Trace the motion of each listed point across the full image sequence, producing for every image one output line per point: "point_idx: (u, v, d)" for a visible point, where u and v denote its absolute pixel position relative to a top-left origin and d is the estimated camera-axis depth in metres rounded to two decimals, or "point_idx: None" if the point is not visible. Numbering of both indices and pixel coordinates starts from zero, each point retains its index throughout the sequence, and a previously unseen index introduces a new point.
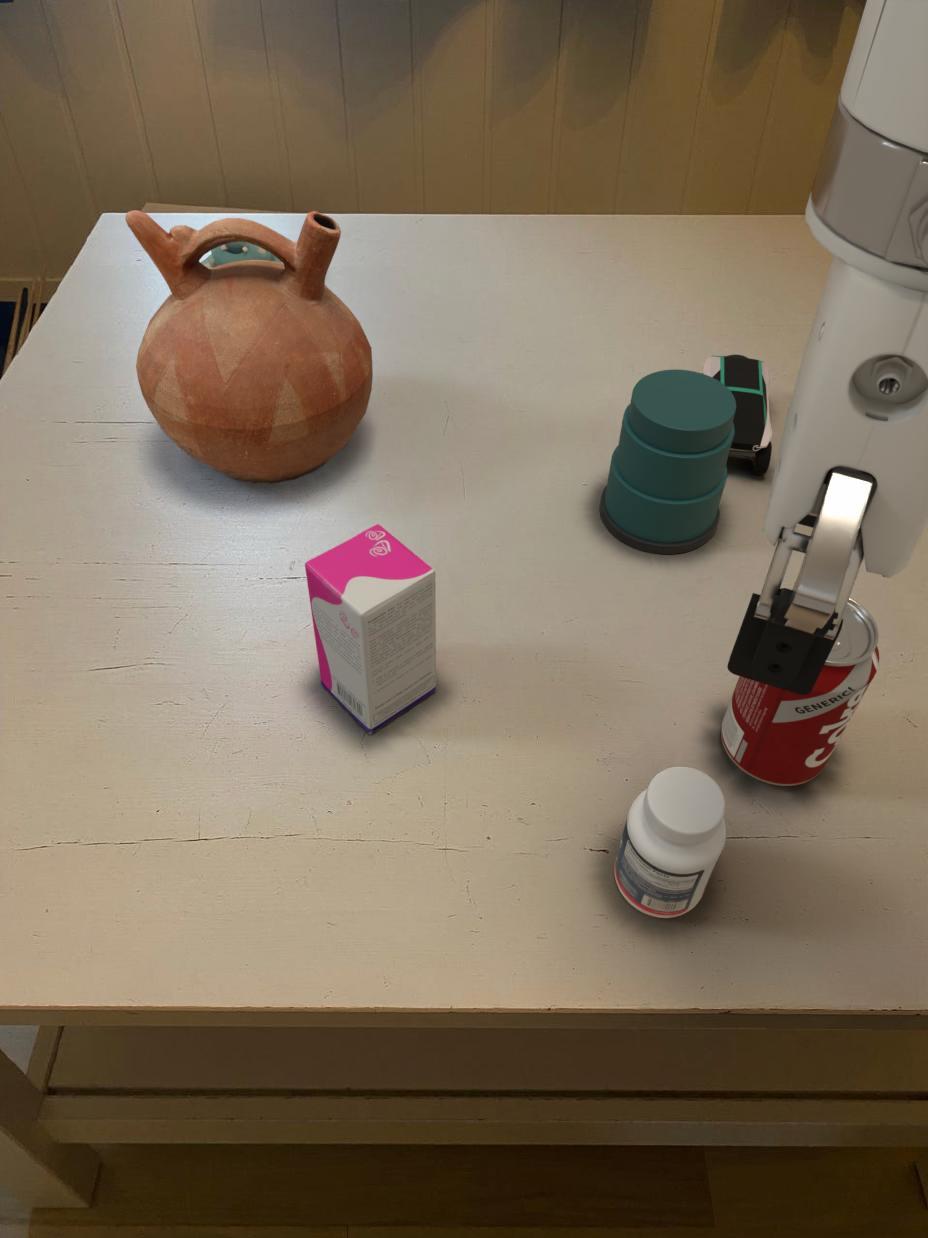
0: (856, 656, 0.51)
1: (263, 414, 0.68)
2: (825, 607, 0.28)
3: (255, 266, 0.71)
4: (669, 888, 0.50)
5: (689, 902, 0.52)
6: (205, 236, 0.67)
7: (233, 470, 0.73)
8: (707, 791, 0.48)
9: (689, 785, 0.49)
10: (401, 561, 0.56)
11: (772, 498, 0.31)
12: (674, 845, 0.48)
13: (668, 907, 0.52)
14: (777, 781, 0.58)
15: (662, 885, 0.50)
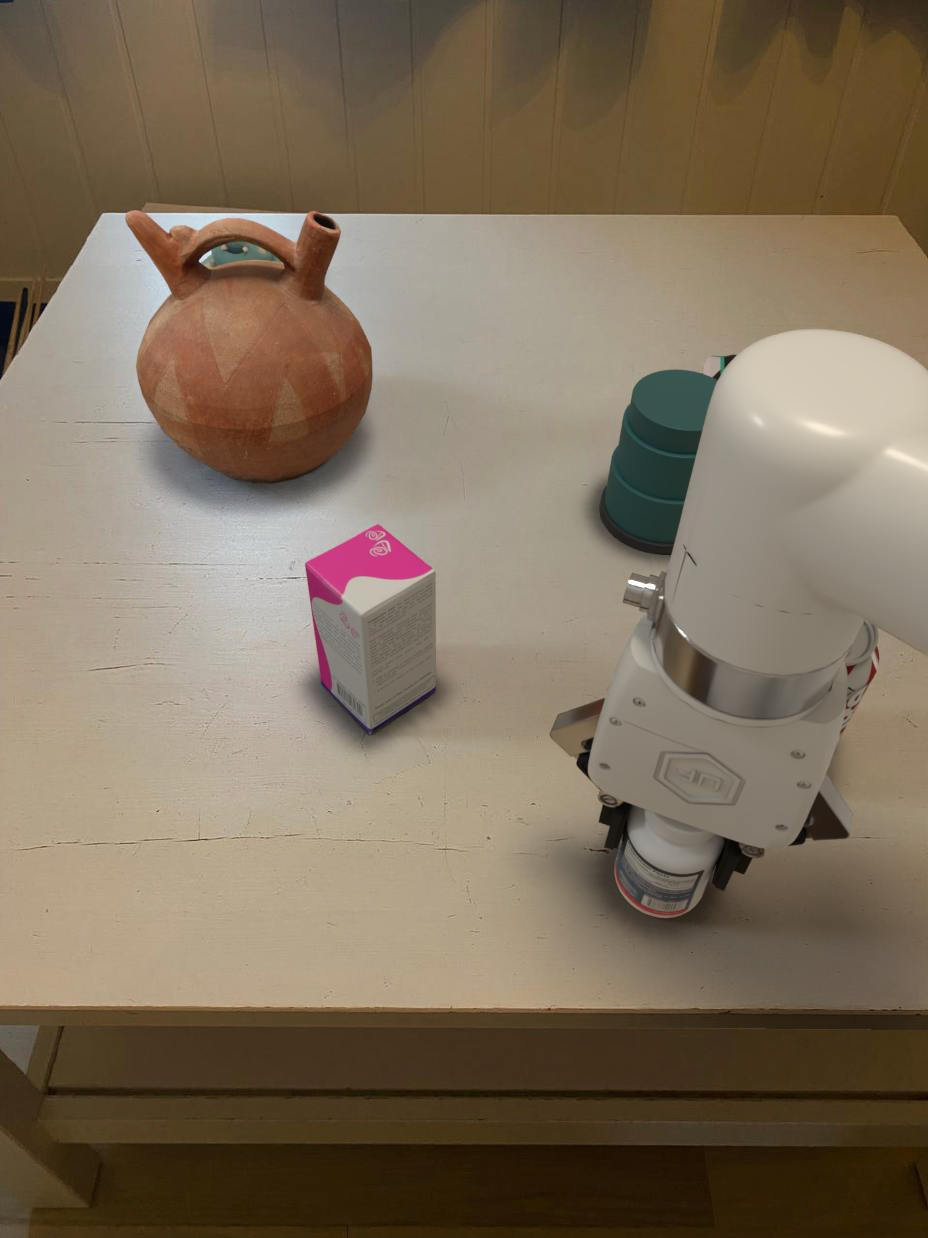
0: (856, 656, 0.51)
1: (263, 414, 0.68)
2: None
3: (255, 266, 0.71)
4: (669, 888, 0.50)
5: (689, 902, 0.52)
6: (205, 236, 0.67)
7: (233, 470, 0.73)
8: None
9: None
10: (401, 561, 0.56)
11: None
12: (674, 845, 0.48)
13: (668, 907, 0.52)
14: None
15: (662, 885, 0.50)
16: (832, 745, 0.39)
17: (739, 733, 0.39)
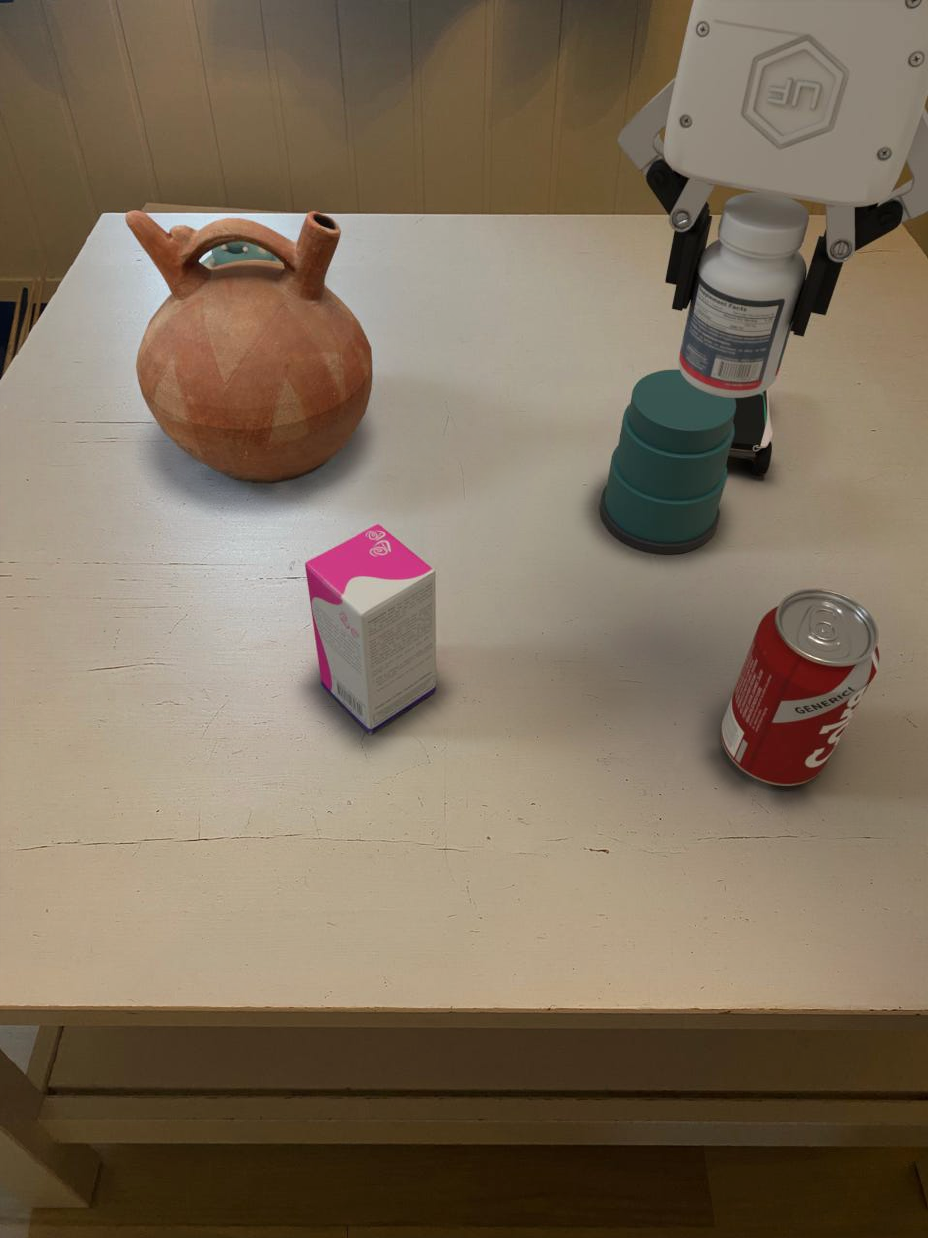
0: (856, 656, 0.51)
1: (263, 414, 0.68)
2: None
3: (255, 266, 0.71)
4: (745, 332, 0.46)
5: (763, 369, 0.48)
6: (205, 236, 0.67)
7: (233, 470, 0.73)
8: (789, 206, 0.45)
9: (768, 202, 0.45)
10: (401, 561, 0.56)
11: None
12: (753, 265, 0.45)
13: (741, 373, 0.48)
14: (777, 781, 0.58)
15: (738, 328, 0.46)
16: None
17: None
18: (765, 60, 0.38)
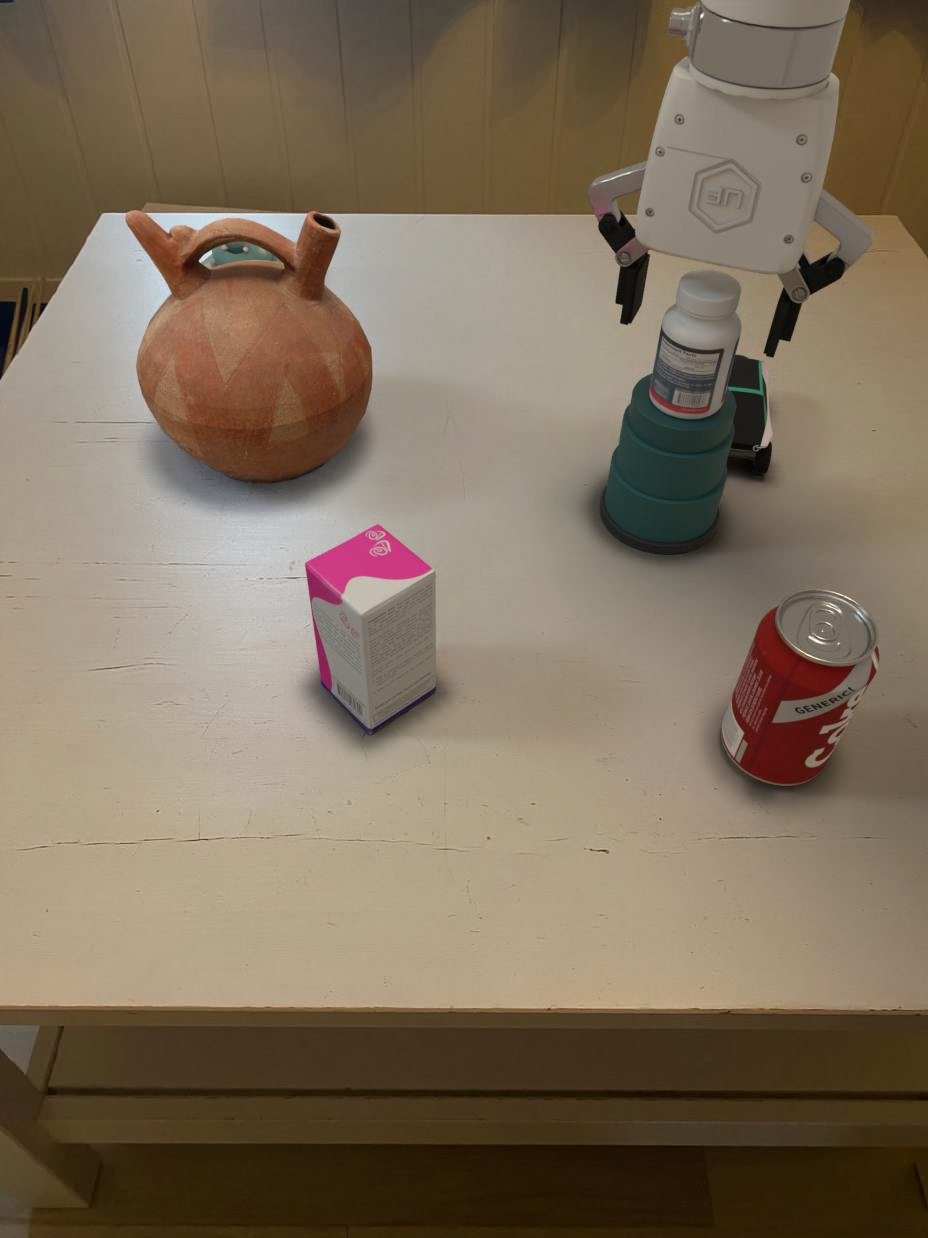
0: (856, 656, 0.51)
1: (263, 414, 0.68)
2: (589, 188, 0.59)
3: (255, 266, 0.71)
4: (695, 372, 0.63)
5: (711, 398, 0.65)
6: (205, 236, 0.67)
7: (233, 470, 0.73)
8: (727, 281, 0.61)
9: (712, 278, 0.61)
10: (401, 561, 0.56)
11: None
12: (700, 323, 0.61)
13: (694, 401, 0.64)
14: (777, 781, 0.58)
15: (690, 369, 0.63)
16: (828, 131, 0.51)
17: (756, 126, 0.51)
18: (703, 174, 0.54)
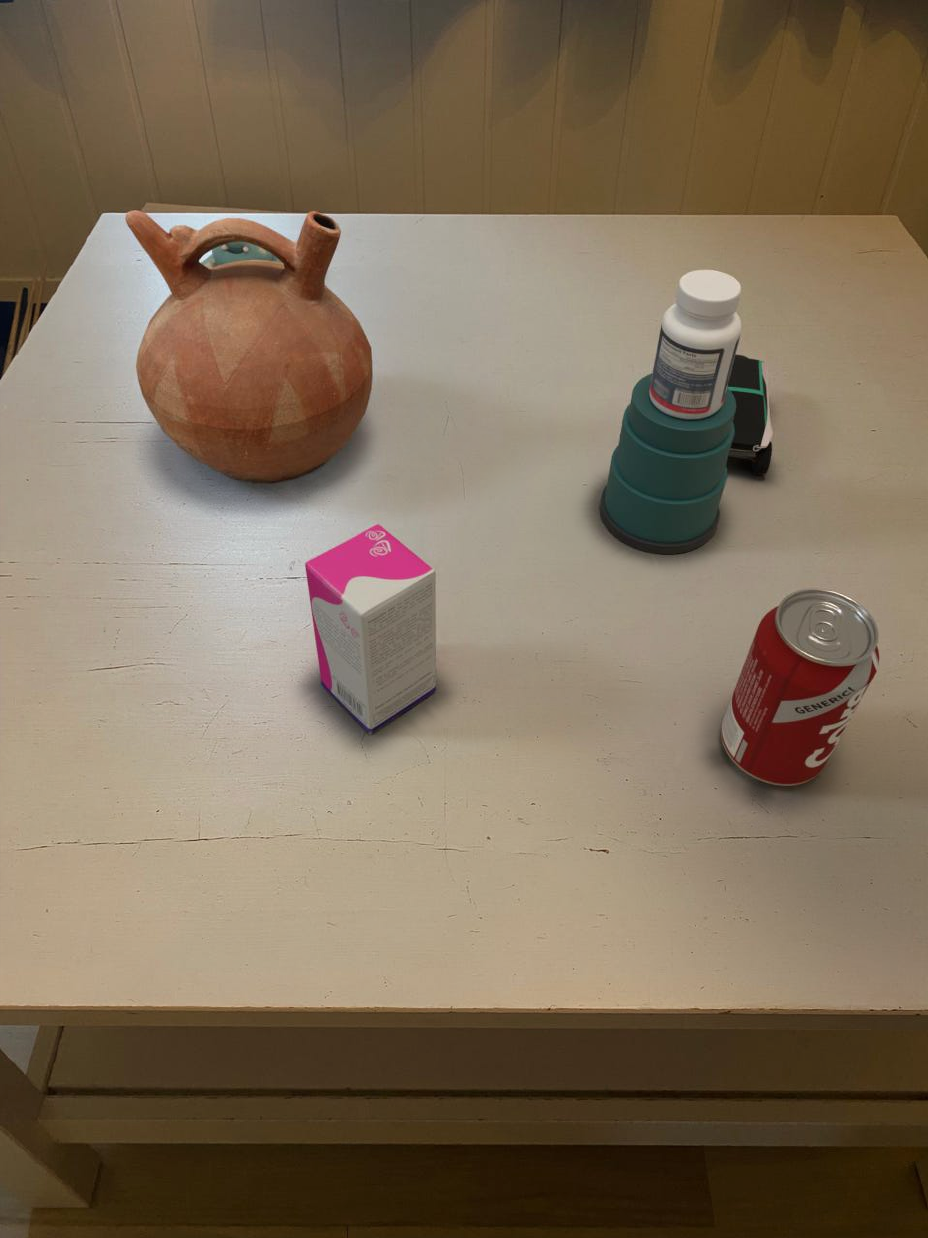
0: (856, 656, 0.51)
1: (263, 414, 0.68)
2: None
3: (255, 266, 0.71)
4: (695, 372, 0.63)
5: (711, 398, 0.65)
6: (205, 236, 0.67)
7: (233, 470, 0.73)
8: (727, 281, 0.61)
9: (712, 278, 0.61)
10: (401, 561, 0.56)
11: None
12: (700, 323, 0.61)
13: (694, 401, 0.64)
14: (777, 781, 0.58)
15: (690, 369, 0.63)
16: None
17: None
18: None
